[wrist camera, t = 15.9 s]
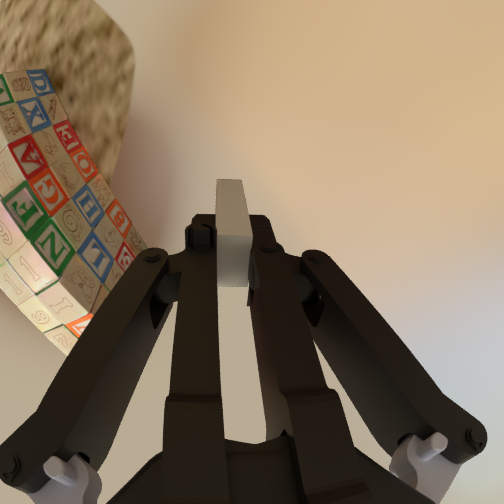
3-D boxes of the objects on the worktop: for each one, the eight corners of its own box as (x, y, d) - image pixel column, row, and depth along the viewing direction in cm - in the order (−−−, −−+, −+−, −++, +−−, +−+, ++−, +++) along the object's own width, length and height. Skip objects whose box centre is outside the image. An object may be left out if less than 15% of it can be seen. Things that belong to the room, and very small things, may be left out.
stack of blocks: (5, 108, 17) (-83, 144, 7) (45, 67, 16) (-52, 81, 6) (105, 269, 29) (68, 360, 18) (150, 247, 28) (120, 345, 17)
